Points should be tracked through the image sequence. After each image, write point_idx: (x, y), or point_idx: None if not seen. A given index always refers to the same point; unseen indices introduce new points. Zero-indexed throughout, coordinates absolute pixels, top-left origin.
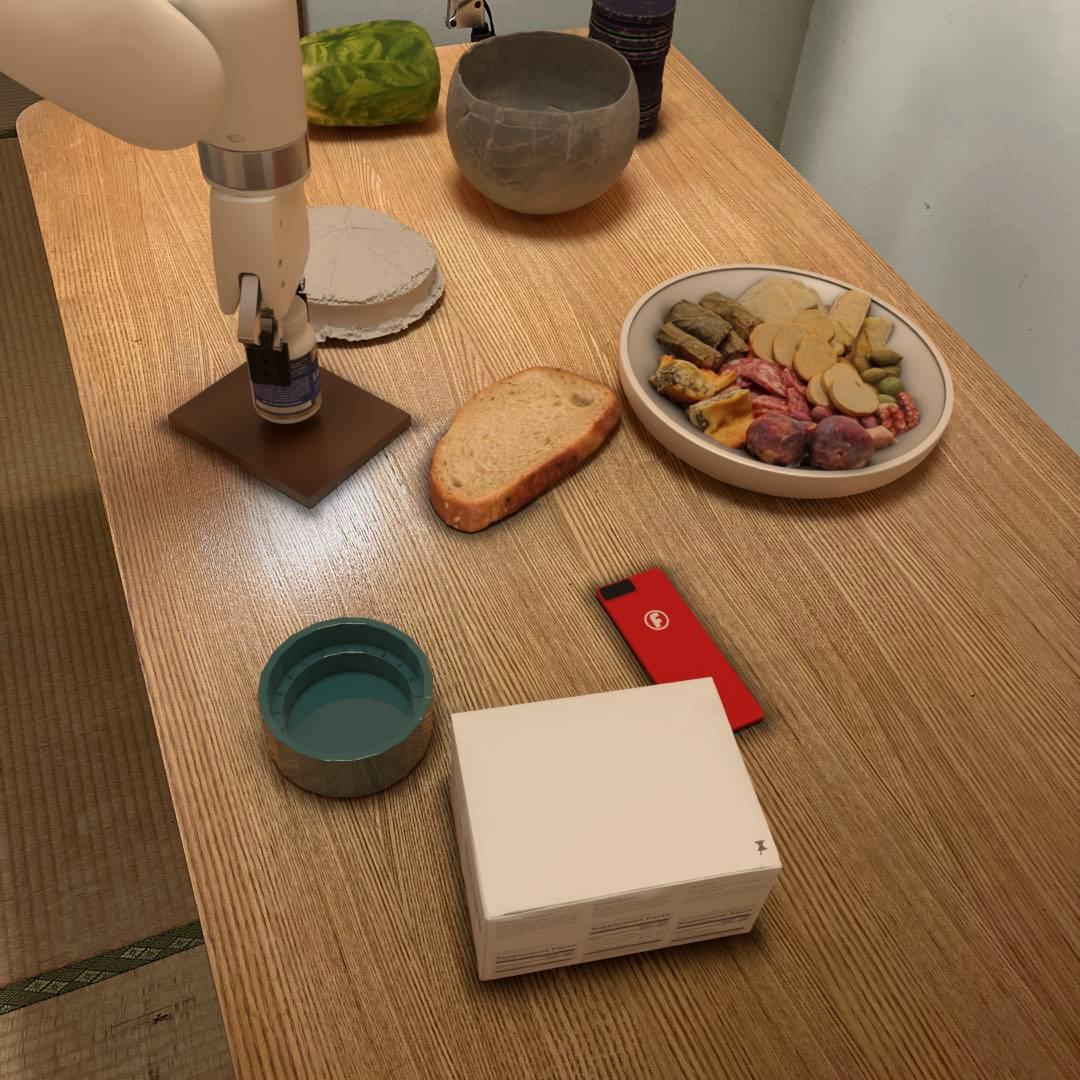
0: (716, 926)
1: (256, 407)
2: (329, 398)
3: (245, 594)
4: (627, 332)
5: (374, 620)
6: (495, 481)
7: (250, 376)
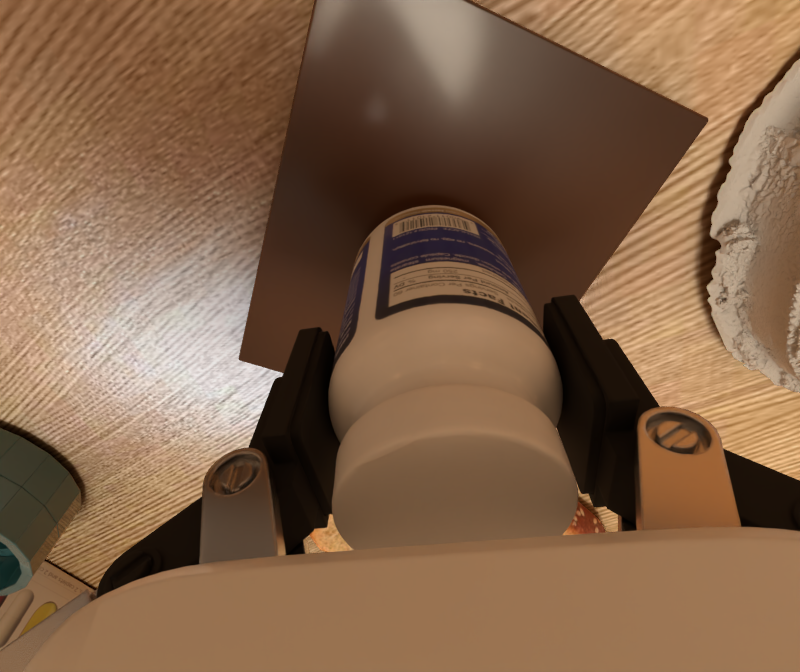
0: None
1: (367, 240)
2: None
3: (41, 320)
4: None
5: (18, 550)
6: None
7: (296, 338)
